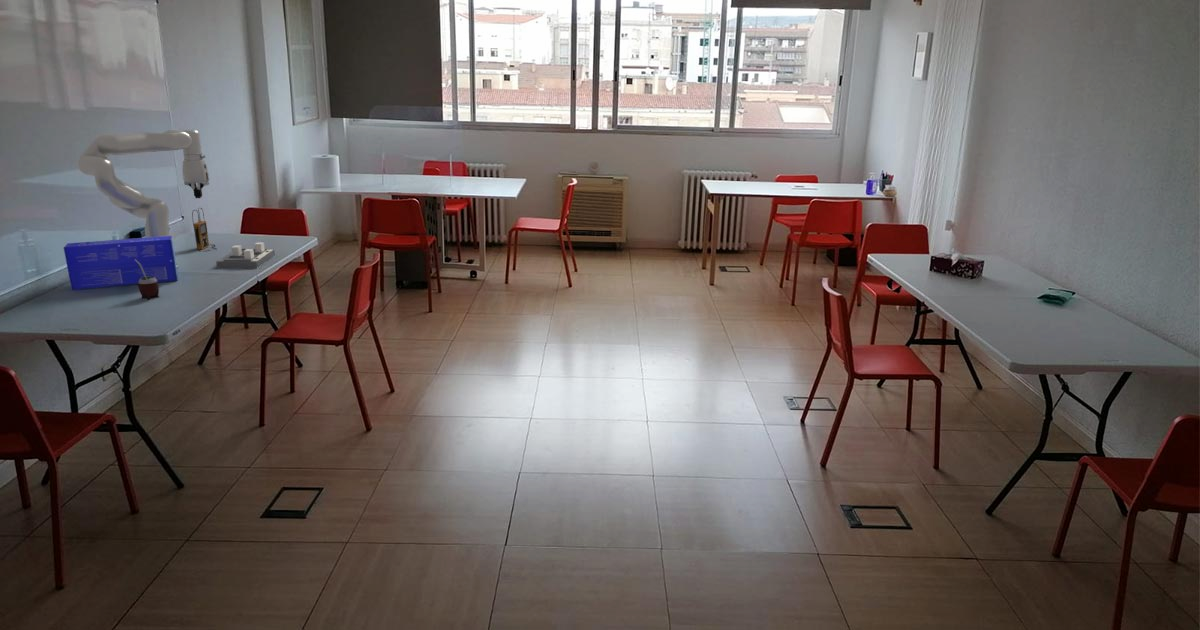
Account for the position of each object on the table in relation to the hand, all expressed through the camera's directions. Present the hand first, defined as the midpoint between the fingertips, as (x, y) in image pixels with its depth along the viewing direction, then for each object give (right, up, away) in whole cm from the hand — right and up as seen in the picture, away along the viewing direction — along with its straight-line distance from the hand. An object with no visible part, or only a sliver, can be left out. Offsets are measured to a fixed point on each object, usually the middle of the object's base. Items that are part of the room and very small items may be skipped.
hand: (198, 197), depth 374 cm
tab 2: (+23, -24, +12) cm, 35 cm away
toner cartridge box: (-14, -41, -32) cm, 54 cm away
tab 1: (+24, -28, -1) cm, 37 cm away
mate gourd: (+5, -47, -51) cm, 70 cm away
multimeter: (-9, -21, +30) cm, 37 cm away
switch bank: (+20, -29, +6) cm, 36 cm away
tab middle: (+16, -26, +5) cm, 31 cm away
